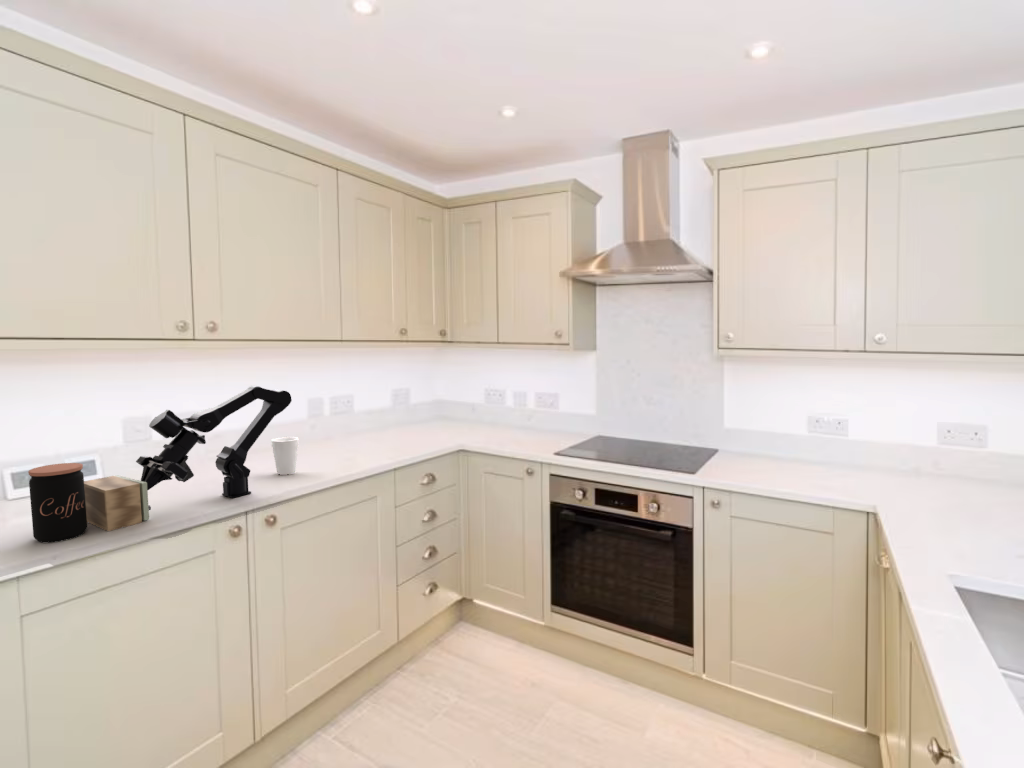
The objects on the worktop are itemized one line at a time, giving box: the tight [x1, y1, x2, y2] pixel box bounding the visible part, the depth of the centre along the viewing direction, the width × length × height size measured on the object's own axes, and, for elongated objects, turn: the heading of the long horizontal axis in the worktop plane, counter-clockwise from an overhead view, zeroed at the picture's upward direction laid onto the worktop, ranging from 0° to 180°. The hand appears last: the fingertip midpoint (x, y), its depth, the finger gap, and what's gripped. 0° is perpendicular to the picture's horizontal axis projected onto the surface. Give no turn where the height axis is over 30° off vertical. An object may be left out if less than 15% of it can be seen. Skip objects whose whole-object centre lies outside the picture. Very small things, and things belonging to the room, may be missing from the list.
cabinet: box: [84, 475, 143, 532], centre depth 147 cm, size 8×16×11 cm, turn 58°
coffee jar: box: [27, 462, 88, 543], centre depth 136 cm, size 11×11×18 cm
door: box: [115, 475, 152, 521], centre depth 152 cm, size 2×16×11 cm, turn 60°
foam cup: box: [270, 436, 300, 476], centre depth 200 cm, size 10×9×13 cm
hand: (140, 492), depth 150 cm, fingers closed, pressing on door
